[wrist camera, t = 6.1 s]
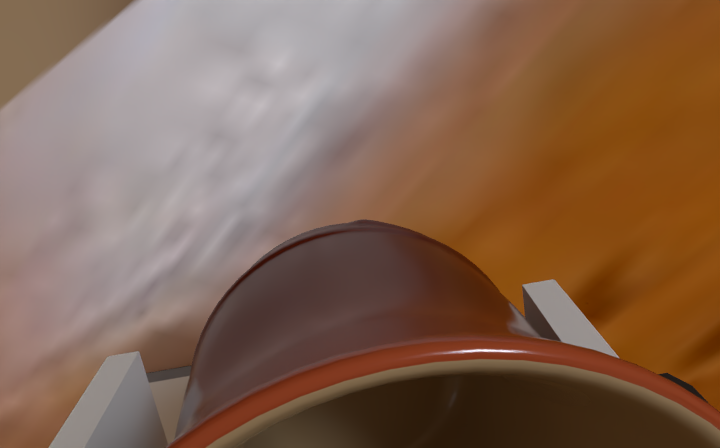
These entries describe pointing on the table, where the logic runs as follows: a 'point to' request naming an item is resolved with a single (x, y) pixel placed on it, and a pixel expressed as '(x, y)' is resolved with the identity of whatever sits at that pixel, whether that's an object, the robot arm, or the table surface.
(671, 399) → the mug
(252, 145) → the table surface
